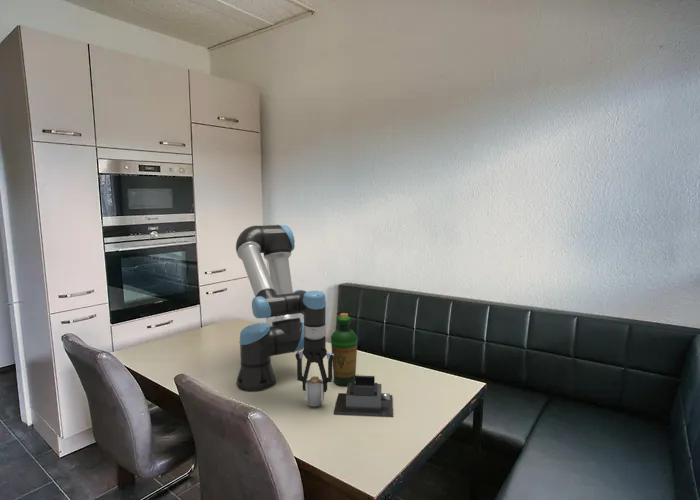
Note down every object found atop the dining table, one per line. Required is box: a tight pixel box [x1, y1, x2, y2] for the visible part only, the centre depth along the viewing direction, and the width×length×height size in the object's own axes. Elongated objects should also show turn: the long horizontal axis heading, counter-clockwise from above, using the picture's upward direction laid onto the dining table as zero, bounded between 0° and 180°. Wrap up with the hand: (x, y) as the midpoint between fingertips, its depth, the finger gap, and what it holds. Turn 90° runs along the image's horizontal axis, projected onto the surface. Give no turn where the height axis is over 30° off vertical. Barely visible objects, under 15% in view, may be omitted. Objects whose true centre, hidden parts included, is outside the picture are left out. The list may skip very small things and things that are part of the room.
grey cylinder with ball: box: [307, 375, 323, 407], centre depth 144 cm, size 5×5×9 cm
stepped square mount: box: [333, 374, 394, 418], centre depth 144 cm, size 20×14×9 cm
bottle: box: [330, 312, 359, 387], centre depth 163 cm, size 11×11×28 cm
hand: (315, 399), depth 145 cm, fingers closed on grey cylinder with ball, 5 cm apart
